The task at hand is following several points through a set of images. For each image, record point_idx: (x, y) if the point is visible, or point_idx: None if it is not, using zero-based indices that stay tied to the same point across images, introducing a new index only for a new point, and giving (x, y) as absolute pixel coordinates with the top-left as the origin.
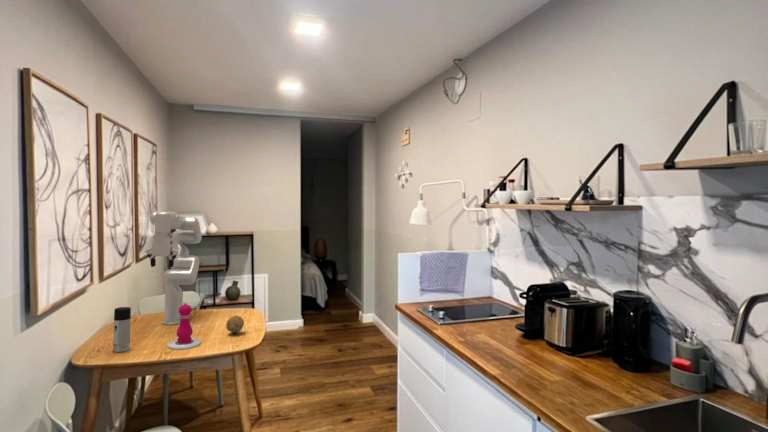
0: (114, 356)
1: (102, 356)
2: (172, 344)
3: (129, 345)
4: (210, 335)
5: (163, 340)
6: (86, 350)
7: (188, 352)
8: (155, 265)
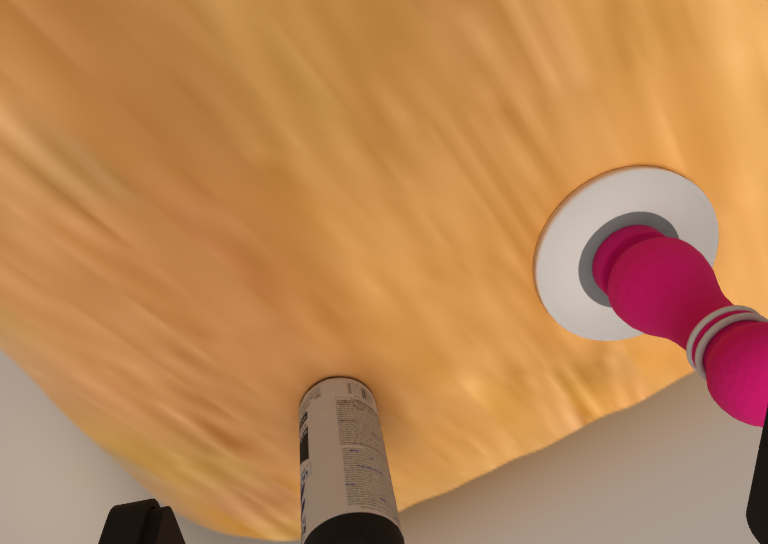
0: None
1: None
2: (578, 309)
3: (375, 405)
4: (715, 43)
5: (454, 220)
6: (162, 453)
7: None
8: (165, 513)
